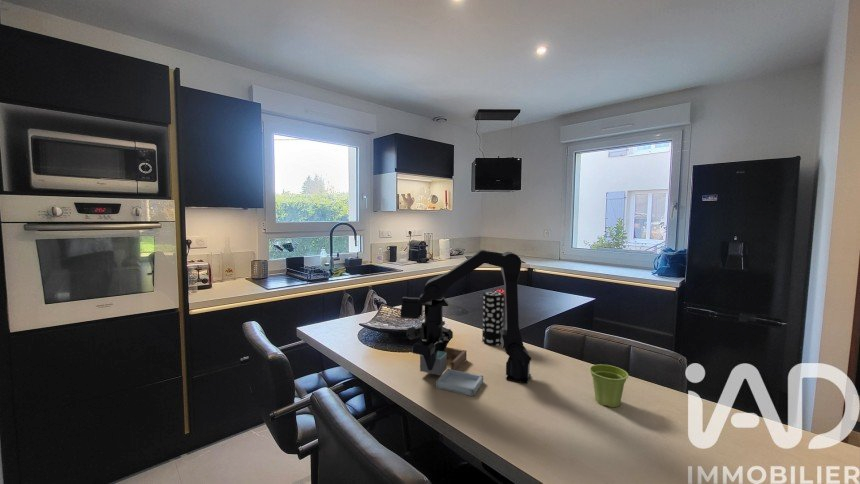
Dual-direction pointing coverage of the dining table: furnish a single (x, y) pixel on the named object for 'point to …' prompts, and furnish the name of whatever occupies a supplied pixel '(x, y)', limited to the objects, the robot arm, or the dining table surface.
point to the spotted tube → (492, 317)
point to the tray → (460, 382)
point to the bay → (456, 357)
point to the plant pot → (608, 384)
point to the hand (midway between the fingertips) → (433, 366)
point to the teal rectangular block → (435, 364)
